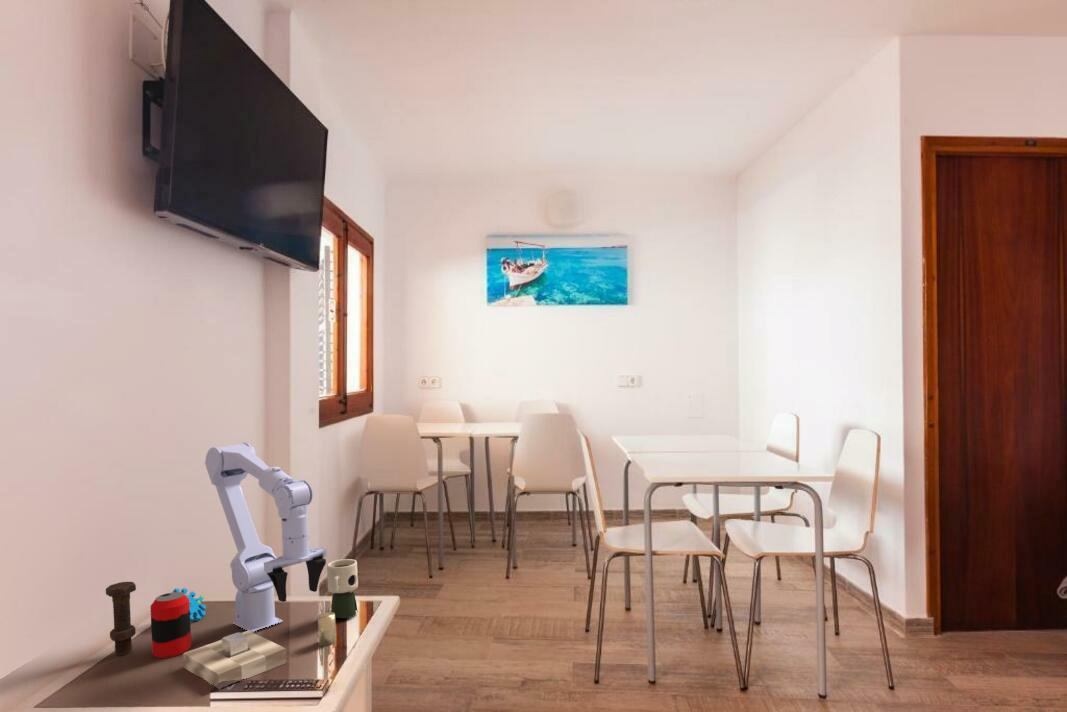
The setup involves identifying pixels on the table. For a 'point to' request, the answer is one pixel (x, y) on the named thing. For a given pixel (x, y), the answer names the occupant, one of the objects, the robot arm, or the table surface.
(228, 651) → the square bit
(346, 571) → the character mug
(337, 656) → the table surface
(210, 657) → the socket plate
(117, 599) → the bolt
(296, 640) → the table surface
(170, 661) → the table surface
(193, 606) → the gear
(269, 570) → the robot arm
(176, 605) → the soda can
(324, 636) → the round bit
